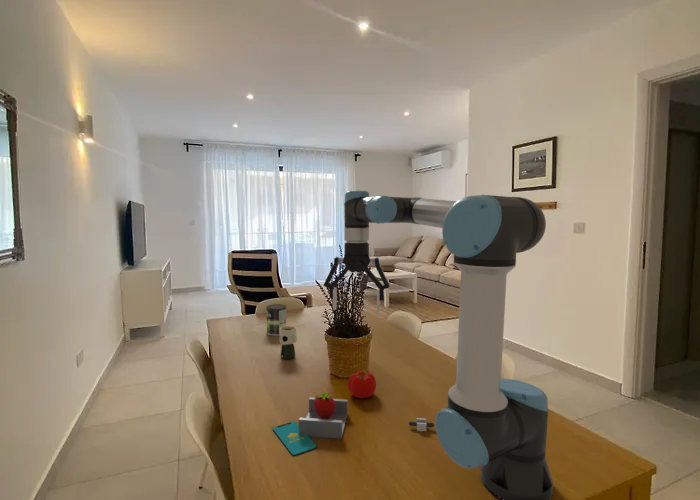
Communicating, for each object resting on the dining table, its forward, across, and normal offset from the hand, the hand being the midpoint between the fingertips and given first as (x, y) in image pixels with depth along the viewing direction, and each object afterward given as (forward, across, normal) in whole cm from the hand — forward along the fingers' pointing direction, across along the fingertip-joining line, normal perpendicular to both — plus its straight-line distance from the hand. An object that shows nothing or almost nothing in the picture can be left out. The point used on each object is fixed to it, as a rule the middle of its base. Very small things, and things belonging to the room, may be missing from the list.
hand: (356, 309), depth 120 cm
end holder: (+32, +8, +11) cm, 34 cm away
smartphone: (+32, +15, +19) cm, 40 cm away
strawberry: (+31, +8, +11) cm, 34 cm away
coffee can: (+32, +50, -74) cm, 95 cm away
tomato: (+32, -1, -9) cm, 33 cm away
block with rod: (+32, -20, +10) cm, 39 cm away
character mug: (+32, +34, -40) cm, 61 cm away
